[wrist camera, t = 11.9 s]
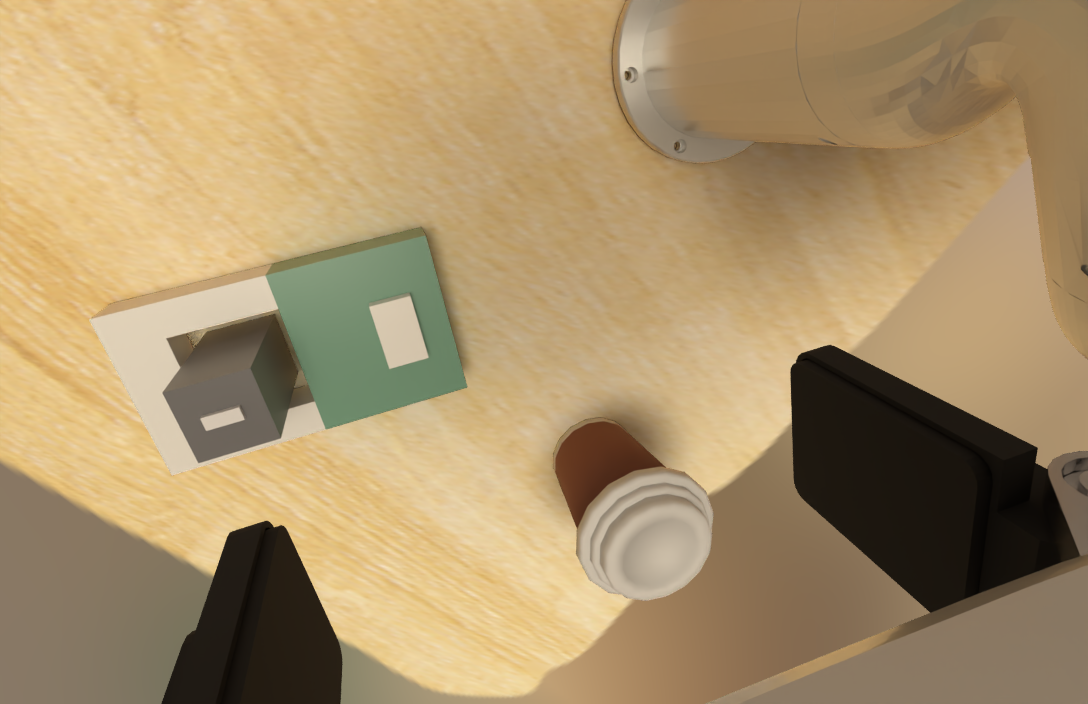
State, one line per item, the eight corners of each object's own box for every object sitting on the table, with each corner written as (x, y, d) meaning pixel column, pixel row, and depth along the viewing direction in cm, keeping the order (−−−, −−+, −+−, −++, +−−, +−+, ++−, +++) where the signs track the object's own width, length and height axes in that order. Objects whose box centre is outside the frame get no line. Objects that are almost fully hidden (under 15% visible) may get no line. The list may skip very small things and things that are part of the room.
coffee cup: (665, 457, 49) (751, 552, 38) (575, 525, 49) (635, 640, 38) (610, 378, 45) (688, 459, 34) (512, 452, 45) (559, 557, 34)
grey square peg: (274, 313, 37) (249, 370, 29) (298, 371, 39) (280, 441, 30) (206, 332, 37) (160, 395, 28) (233, 390, 38) (196, 466, 30)
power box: (421, 227, 38) (426, 237, 34) (460, 370, 42) (469, 392, 38) (110, 303, 35) (82, 324, 31) (185, 450, 39) (167, 482, 35)
